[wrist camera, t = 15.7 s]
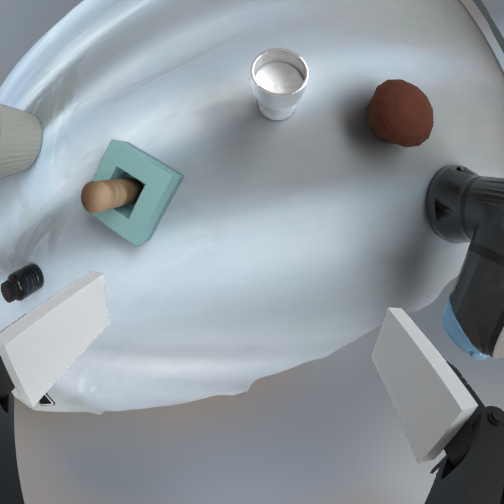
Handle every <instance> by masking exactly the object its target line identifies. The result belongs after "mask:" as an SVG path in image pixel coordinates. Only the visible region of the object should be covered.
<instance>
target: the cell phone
mask: <svg viewBox="0 0 504 504" xmlns="http://www.w3.org/2000/svg"><path fill="white" fill-rule="evenodd" d="M38 403H39V404H40V405H41V406H47V405H55V402H54V401H53V400H52V399H51V398H50V397H49V396H48V394H47V393H45V395H44V396H43V397H42V398H41V399H40V400H39V402H38Z"/></svg>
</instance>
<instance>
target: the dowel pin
mask: <svg viewBox="0 0 504 504" xmlns="http://www.w3.org/2000/svg"><path fill="white" fill-rule="evenodd" d="M142 190H143V186H142V184H141V182H140V181H139V180H138V179H135V178H128V179H113V180H101V181H91V182H89V183H87V184H86V185H85V186H84V188H83V190H82V194H81V200H82V204H83V207H84V208H85V209H86V211H88V212H89V213H98V212H101V211H105V210H109V209H113V208H117V207H121V206H125V205H129V204H133V203H136V202H137V200H138V198H139V196H140V194H141V192H142Z"/></svg>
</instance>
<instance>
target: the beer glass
mask: <svg viewBox="0 0 504 504" xmlns="http://www.w3.org/2000/svg"><path fill="white" fill-rule="evenodd" d="M308 77H309V70H308V67H307V64H306V62H305V61H304V60H303V58H302V57H301V56H299V55H298V54H297V53H295V52H293V51H290V50H287V49H282V48H275V49H269V50H266V51H264V52H262V53H261V54H259V55H258V56H257V57H256V58H255V60H254V61H253V63H252V66H251V86H252V90H253V93H254V95H255V97H256V98H257V100H258V106H259V110H260V112H261V113H262V114H263V115H264V116H265V117H266V118H268V119H271V120H275V121H280V120H284V119H286V118H288V117H290V116H291V115H292V113H293V112H294V110H295V105H296V104H297V103H298V102H299V101H300V100H301V98H302V97H303V95H304V93H305V90H306V87H307V81H308Z"/></svg>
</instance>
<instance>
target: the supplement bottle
mask: <svg viewBox="0 0 504 504" xmlns="http://www.w3.org/2000/svg"><path fill="white" fill-rule="evenodd" d="M43 282H44V278H43V274H42V272H41V270H40V268H39V267H38V266H37V265H36V264H29V265H27V266H25V267H23V268H21V269H19V270H17V271H15V272H13V273H12V274H10V275H9V277H8V279H7V281H5V282H4V283H2V285H1V292H2V295H3V297H4V299H5V300H6V301H7V302H9V303H10V302H12V301H14V300H18V301H21V300H23V299H25V298H26V297H28V296H29V295H31V294H32V293H34V292H35V291H37V290H39V289H40V288H41V287H42V286H43Z"/></svg>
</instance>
